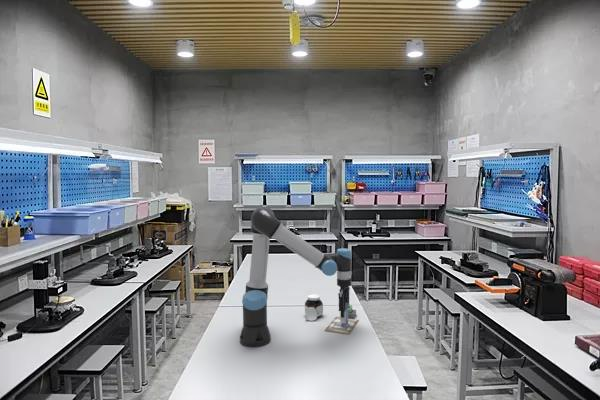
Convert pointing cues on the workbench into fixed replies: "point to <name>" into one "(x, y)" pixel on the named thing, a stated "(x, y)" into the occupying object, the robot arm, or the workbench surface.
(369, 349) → the workbench surface
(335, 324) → the picture frame
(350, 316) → the button housing
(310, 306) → the spread jar
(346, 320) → the blue cylinder
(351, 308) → the button
